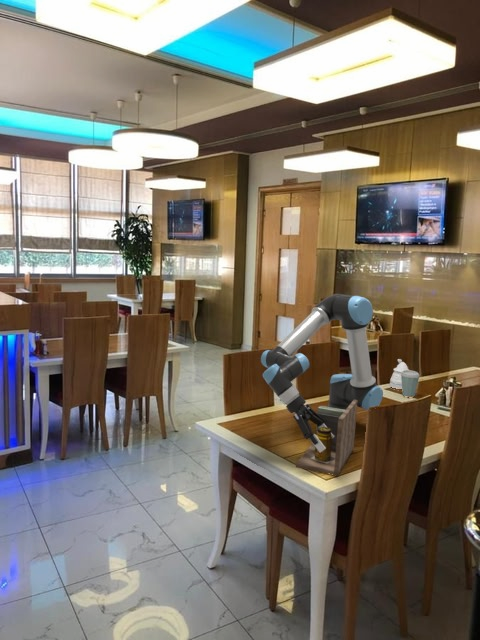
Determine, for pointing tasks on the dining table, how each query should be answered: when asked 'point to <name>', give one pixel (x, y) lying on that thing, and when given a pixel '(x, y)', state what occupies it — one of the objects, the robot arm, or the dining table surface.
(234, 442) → the dining table surface
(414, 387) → the disposable coffee cup
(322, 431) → the condiment
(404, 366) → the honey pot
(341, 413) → the wooden l-shaped bookend
